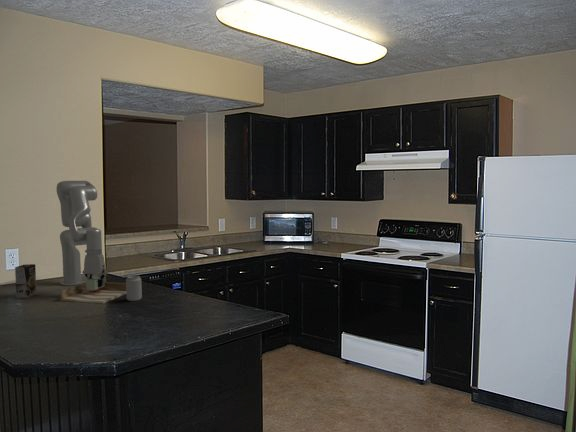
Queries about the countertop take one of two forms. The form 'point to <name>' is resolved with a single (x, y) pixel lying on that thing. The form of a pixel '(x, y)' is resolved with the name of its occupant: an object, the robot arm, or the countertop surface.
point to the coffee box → (25, 281)
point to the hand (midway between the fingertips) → (95, 286)
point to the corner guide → (93, 293)
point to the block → (93, 283)
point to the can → (133, 288)
